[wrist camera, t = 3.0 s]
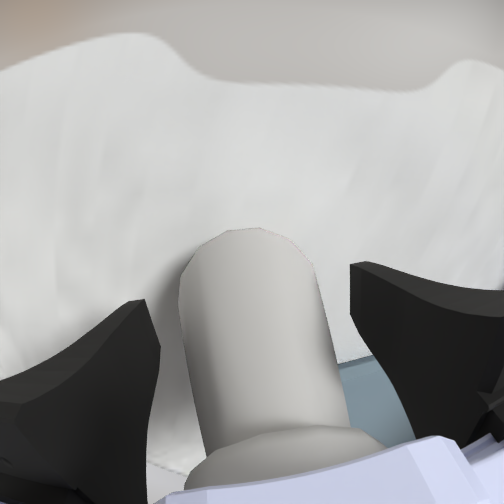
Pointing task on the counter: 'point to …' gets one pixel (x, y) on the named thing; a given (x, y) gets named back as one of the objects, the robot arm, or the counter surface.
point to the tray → (374, 402)
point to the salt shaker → (262, 363)
